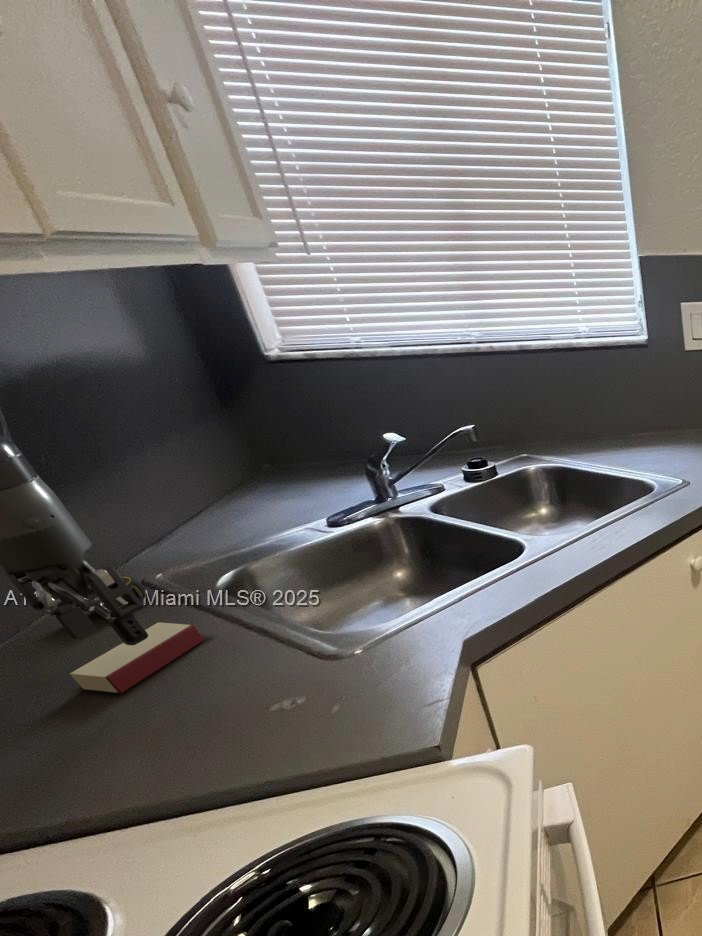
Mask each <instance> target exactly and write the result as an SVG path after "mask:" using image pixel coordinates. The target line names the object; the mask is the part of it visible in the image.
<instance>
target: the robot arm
mask: <svg viewBox="0 0 702 936" xmlns="http://www.w3.org/2000/svg"><path fill="white" fill-rule="evenodd" d="M42 479H43V478H41V477H40V476H39V474H38V473H37V472H36V470H35V469H34V467H33V466H32V465H31V464H30V462H29V460H28V459H27V458H26V457H25V455H24V454H23V452H22V451H21V450H20V448H19V447H18V446H17V445H16V443H15V441H14V439H13V437H12V435H11V433H10V430H9V427H8V424H7V421H6V418H5V416H4V413H3V409H2V407H1V405H0V569H1V570H2V571H3V572H4V573H5V575H6V576H7V577H8V578H9V580H10V581H11V582H12V584H13V585H14V587H16V589H17V591H19V593H20V594H21V595H22V596H23V598H24V599H25V600H26V601H27V603H28V604H29V605H30V607H31V608H32V609H34V610H36V611H41V610H42V609H43V610H44V611H45V613H46V614H47V615H49V616H51V617H55V619H57V621H58V622H59V623H60V625H62V627H63V628H64V629H65V630H66V632H67V633H68V634H69V635H70V636H71V638H73V639H74V640H83V639H86V638H88V637H90V636H92V635H94V634H95V633H96V632H97V630H98V629H97V627H96V626H95V625H94V623H93V622H92V620H90V618H89V617H88V616H87V614H86V613H85V612H87V611H95V612H96V613H95V614H98V616H101V618H103V619H104V620H105V621H107V623H108V624H109V625H110V627H111V628H112V629H113V631H114V632H115V633H116V634H117V636H118V637H119V638H120V640H121V641H122V643H125V644H126V645H136V644H138V643H139V642H141V641H143V640H145V639H146V638H147V637H148V634H147V632H146V631H145V630H146V629H145V628H144V627H143V625H142V624H141V623H140V621H139V620H138V619H137V617H136V616H135V614H134V613H136V612H137V611H140V610H142V609H143V608H144V605H143V604H142V602H140V601H139V600H138V599H137V597H136V596H135V595H134V594H133V592H132V591H131V590H130V588H129V587H128V586H127V585H126V583H125V582H124V581H123V579H122V578H121V577H122V576H121V575H120V574H119V573H118V572H117V570H116V569H115V568H114V567H112V566H110V565H106V566H104V567H102V568H100V569H95V568H94V567H93V566H92V565H91V564H89V563H88V562H87V561H86V560H85V556H86V554H87V553H89V552H90V550H91V549H92V545H93V544H92V542H91V541H90V539H89V538H88V536H87V535H86V533H84V531H83V530H82V529H81V527H80V526H79V524H78V523H77V521H76V520H75V519H74V517H73V516H72V515H71V513H70V512H69V511H68V509H67V508H66V506H65V505H64V504H63V502H62V501H61V500H60V498H59V497H58V495H57V494H56V492H54V491H53V490H52V488H50V486H48V484H47V483H45V482H44V480H42ZM35 593H36V594H35ZM96 596H98V597H97V598H94V597H96ZM120 596H123V597H124V598H125V600H126V601H127V602H126V601H125V600H124V599H122V598H121V597H120ZM91 598H94V599H91ZM89 599H91V600H89ZM75 605H79V606H80V607H82V608H83V609H84V610H86V611H83V610H82V609H81V608H80V607H76V606H75ZM102 605H105V606H106V607H107V608H108V609H106V608H105V607H103V606H102Z"/></svg>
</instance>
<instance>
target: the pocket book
mask: <svg viewBox="0 0 702 936" xmlns="http://www.w3.org/2000/svg"><path fill="white" fill-rule="evenodd" d="M145 631H146V632H147V634H148V637H147V638H146V639H145V640H143V641H141V642H139V643H138V644H136V645H126V644H125V643H124V642H122V643H120V644H118V645H117V646H115V647H113V648H112V649H110V650H108V651H106V652H105V653H103V654H101V655H99V656H98V657H96V658H94V659H93V660H91V661H89V662H88V663H86V664H84V665H82V666H81V667H78V668H77V669H75V670H73V671H72V672H70V673H69V675H70V676H71V677H72V678H73V680H74V681H76V683H77V684H78V685H79V686H80V687H81V688H82V689H83V690H87V691H97V692H106V693H107V692H108V693H117V694H122V693H124V692H125V691H127V690H128V689H130V688H132V687H133V686H135V685H137V684H138V683H139V682H141V681H143V680H145V679H146V678H147V677H148V676H151V675H152V674H153V673H155V672H157V671H158V670H160V669H161V668H163V667H164V666H166V665H167V664H169V663H171V662H172V661H174V660H175V659H177V658H179V657H180V656H182V655H184V654H185V653H187V652H188V651H190V650H191V649H193V648H194V647H196V646H197V645H199V644H200V643H202V642H203V641H205V639H204V638H203V636H202V634H201V633H200V632H199V631H198V629H197V628H196V626H195V625H194V624H184V623H171V622H170V623H169V622H156V623H155V624H153V625H151V626H150V627H148V628H146V629H145Z"/></svg>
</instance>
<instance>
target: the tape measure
mask: <svg viewBox="0 0 702 936" xmlns="http://www.w3.org/2000/svg"><path fill="white" fill-rule="evenodd" d="M120 577H121V578H122V579H123V581H124V582H125V583H126V585H127V586H128V587H129V588H130V590H131V591H132V592H133V594H134V595H135V596H136V597H137V599H138V600H139V601H140V603H142V601H143V600H144V599H145V598H146V596H147V593H146V588H145V587H144V585H143V583H141V582H140V581H139V580H138V579H136V578H134V577H131V576H120ZM97 597H98V596H96V597H94V598H97ZM120 597H121V598H122V599H124V600H125V598H124V597H123V596H120ZM94 598H91V599H94ZM91 599H89V600H91ZM125 601H126V600H125ZM126 602H127V601H126ZM102 606H103V607H105V608H106V609H108V608H107V607H106V606H105V605H102ZM74 607H80V606H79V605H75V606H74ZM80 608H81V609H82V611H83V612H87V613H93V614H94V613H95V614H97V613H96V612H95V611H86V610H84V609H83V608H82V607H80Z"/></svg>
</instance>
